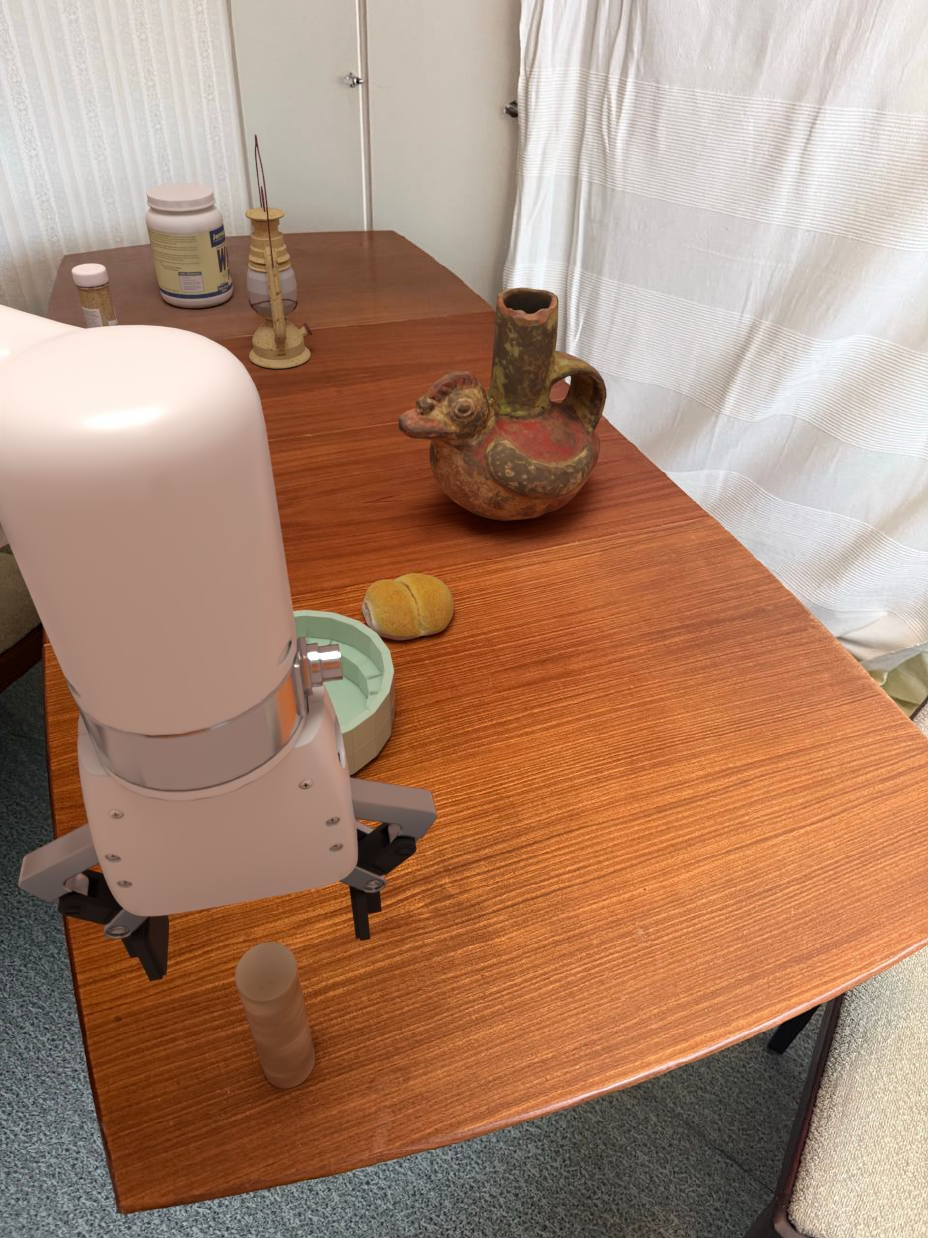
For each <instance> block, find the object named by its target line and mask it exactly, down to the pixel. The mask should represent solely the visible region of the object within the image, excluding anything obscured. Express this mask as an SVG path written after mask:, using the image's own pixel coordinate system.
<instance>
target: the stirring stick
mask: <svg viewBox="0 0 928 1238" xmlns="http://www.w3.org/2000/svg"><path fill="white" fill-rule="evenodd" d="M234 982H235V985H236V988H237V992H238V995H239V998H240V1002H241V1005H242V1008H243V1011H244V1015H245V1017H246V1021H247V1023H248V1027H249V1030H250V1033H251V1037H252V1039H253V1042H254V1043H253V1044H254V1046H255V1049H256V1052H257V1056H258V1059H259V1061H260V1065H261V1068H262V1072H263V1075H264V1076H265V1078H266V1080H267V1081H268V1082H269V1083H270V1084H271V1085H273V1086H274V1087H276V1088H279V1089H292V1088H295V1087H297V1086H299V1085H301V1084H302V1083H304V1082H305V1081H306V1079H308V1077H309V1076H310V1075H311V1073H312V1071H313V1069H314V1067H315V1063H316V1052H315V1047H314V1042H313V1038H312V1032H311V1027H310V1021H309V1017H308V1011H307V1007H306V1003H305V1002H306V1001H305V997H304V992H303V987H302V982H301V978H300V973H299V967H298V962H297V958H296V956H295V954H294V952H293V951H292V950H291V949H290V948H289V947H288V946H286V945H285V944H283V943H279V942H277V941H266V942H261V943H258V944H256V945H254V946H252V947H250V948H249V949H248V950H247V951H246V952H245V953H244V954H243V955H242V956H241V957H240V959H239V960H238V962H237V965H236V967H235V971H234Z"/></svg>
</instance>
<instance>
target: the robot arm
mask: <svg viewBox="0 0 928 1238" xmlns="http://www.w3.org/2000/svg"><path fill="white" fill-rule="evenodd" d="M261 401H262V400H261V396H260V394H259V391H258V388H257V387H256V384H255V382H254V379H253V378H252V377H251V374H250V373H249V371H248V369H247V368H246V367H245V365H244V364H243V362H242V361H241V360H240V359H239V358H238V357H237V356H236V355H234V353H232V352H231V351H230V350H229V349H228V348H226V347H225V346H223V345H221V344H220V343H218V342H216V341H214V340H212V339H210V338H208V337H207V336H205V335H201V334H199V333H196V332H193V331H189V330H185V329H181V328H176V327H171V326H170V327H169V326H163V325H148V324H122V325H121V324H119V325H118V326H106V327H96V328H87V327H86V328H84V327H81V326H76V325H72V324H67V323H63V322H60V321H57V320H54V319H50V318H46V317H43V316H40V315H36V314H33V313H29V312H27V311H23V310H19V309H16V308H13V307H9V306H7V305H4V304H0V549H1V548H3V547H5V546H7V545H8V546H9V547H10V550H11V552H12V555H13V556H14V560H15V562H16V564H17V566H18V569H19V571H20V574H21V576H22V578H23V580H24V584H25V585H26V588H27V591H28V592H29V595H30V598H31V600H32V602H33V605H34V607H35V609H36V612H37V614H38V617H39V620H40V622H41V624H42V626H43V628H44V631H45V633H46V635H47V638H48V640H49V643H50V646H51V648H52V650H53V652H54V656H55V657H56V660H57V662H58V665H59V667H60V669H61V671H62V674H63V676H64V679H65V682H66V683H67V685H68V688H69V691H70V693H71V696H72V697H73V699H74V703H75V705H76V707H77V708H78V712H79V716H78V721H77V748H76V749H77V763H78V770H79V771H78V772H79V779H80V787H81V792H82V798H83V804H84V808H85V809H84V810H85V813H86V818H87V823H85V824H83V825H81V826H80V827H78V828H75V829H74V830H72V831H70V832H68V833H66V834H64V835H62V836H60V837H58V838H56V839H54V840H52V841H51V842H48V843H47V844H44V845H42V846H41V847H39V848H37V849H35V850H33V851H32V852H29V853H26V854H25V855H24V856H23V858H22V863H21V867H20V872H19V876H18V882H17V886H18V888H19V889H20V890H21V891H24V892H26V893H28V894H29V895H32V896H34V897H36V898H38V899H40V900H42V901H43V902H46V903H47V904H50V903H54V904H56V905H57V912H58V913H59V914H60V915H63V916H65V917H68V918H73V919H77V920H81V921H86V922H90V923H93V924H98V925H102V926H103V931H102V933H103V936H104V937H106V938H108V939H110V940H111V939H112V940H121V942H122V944H123V946H124V948H125V950H126V952H127V954H128V956H129V958H130V959H134V958H138V960H139V962H140V964H141V966H142V968H143V970H144V972H145V974H146V976H147V978H148V980H149V982H154V981H159V980H163V978H164V976H165V977H166V976H167V974H168V960H169V940H170V939H169V938H170V917H169V915H170V916H171V915H177V914H182V913H188V912H194V911H195V912H196V911H201V910H207V909H213V908H218V907H224V906H230V905H236V904H241V903H247V902H252V901H258V900H262V899H269V898H274V897H280V896H284V895H290V894H295V893H300V892H305V891H310V890H314V889H315V890H316V889H319V888H323V887H327V886H331V885H333V884H335V883H338V882H339V883H342V884H344V885H346V886H348V889H349V897H350V905H351V911H352V922H353V928H354V935H355V940H357V939H359V941H360V942H364V941H368V940H371V929H370V921H369V915H371V914H377V913H381V912H382V910H383V909H382V898H381V891H383V890H384V889H385V888H386V887H387V884H388V882H387V875H389V874H390V873H391V872H392V871H394V870H395V869H396V868H398V867H399V866H400V865H402V864H403V863H404V862H405V861H407V860H408V859H410V857H412V856H413V855H414V854H416V852H417V850H418V849H417V843H418V842H419V840H421V839H423V838H424V837H425V835H426V834H427V833H428V832H429V830H430V829H431V827H432V826H433V825H434V823H435V822H436V821H437V819H438V813H437V808H436V803H435V798H434V794H433V792H432V790H429V789H425V788H420V787H414V786H406V785H400V784H394V783H388V782H382V781H377V780H376V781H375V780H369V779H364V778H356V777H351V775H350V774H349V768H348V763H347V757H346V752H345V747H344V742H343V737H342V733H341V729H340V725H339V721H338V718H337V715H336V712H335V709H334V706H333V703H332V701H331V698H330V696H329V693H328V691H327V689H326V686H325V684H324V682H329V681H336V680H343V672H342V663H341V656H340V649H339V644H333V645H325V646H318V643H312V644H307V643H306V637H305V636H304V637H299V638H298V637H297V630H296V623H295V618H294V613H293V611H294V607H293V600H292V594H291V593H292V592H291V586H290V581H289V580H290V579H289V574H288V573H289V572H288V566H287V559H286V553H285V547H284V539H283V533H282V526H281V519H280V513H279V504H278V499H277V493H276V485H275V478H274V472H273V466H272V459H271V452H270V446H269V440H268V439H269V438H268V432H267V426H266V421H265V416H264V411H263V406H262V402H261ZM359 820H361V821H368V822H375V823H380V824H379V825H377V827H375V828H373V827H371V826H369V825H367V824H365V823H363V822H361V821H359ZM98 865H100V869H101V870H102V872H100V871H96V870H93V869H92V868H94V867H96V866H98Z"/></svg>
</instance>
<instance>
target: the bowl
mask: <svg viewBox="0 0 928 1238" xmlns="http://www.w3.org/2000/svg"><path fill="white" fill-rule="evenodd" d="M293 613H294V618H295V623H296V630H297V637H298V638H299V637H304V636H305V637H306V643H307V644H312V643H318V646H325V645H333V644H339V649H340V656H341V663H342V672H343V680H336V681H329V682H324V684H325V686H326V689H327V691H328V693H329V696H330V698H331V701H332V703H333V706H334V709H335V712H336V715H337V718H338V721H339V725H340V729H341V733H342V737H343V742H344V747H345V752H346V757H347V763H348V768H349V774H350V776H352V775H354V774H355V773H357V772H358V771H359V770H361V769H362V768H364V767H365V766H366V765H367V764H368V763H370V762H371V761H372V760H374V759H375V758H376V757H377V756H378V755H379V753H380V752H381V751H382V749H383V747H384V746H385V745H386V743H387V741H388V740H389V738H390V737H391V735H392V732H393V728H394V722H395V719H396V687H395V685H396V683H395V682H396V681H395V667H394V663H393V659H392V654H391V650H390V648H389V647H388V646H387V644H386V643H385V642H384V641H383V639H382V637H381V636H379V635H378V634H377V633H376V632H375V631H373V630H372V629H370V628H369V626H368V625H366V624H364V623H363V622H361V621H360V620H357V619H354V618H352V617H349V616H345V615H343V614H340V613H337V612H333V611H323V610H314V609H313V610H312V609H298V610H293Z"/></svg>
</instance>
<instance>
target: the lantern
mask: <svg viewBox="0 0 928 1238" xmlns="http://www.w3.org/2000/svg"><path fill="white" fill-rule="evenodd" d="M259 147H260V146H259V142H258V135H257V133H256V134H254V161H255V171H256V178H257V187H258V188H257V189H258V195H259V196H258V197H259V204H260V207H254V208H251V209H248V210H246V211H245V212H244V215H245V217H246V218H247V219H248V220H250V223H251V226H252V227H253V229H254V231H253V232H251V233H250V235H249V236H250V243H251V244H250V247H249V249H250V250H249V251H250V253H249V255H248V260H249V261H248V264H247V266H248V269H247V272H246V290H247V295H248V303H249V307H250V308H251V309H252V310H253V311H254V312H255V315H257V316H258V317H260V318H263V319H264V321H262V323H260V325H259V326H258V327H257V328H256V330H255V332H254V334H253V335H252V338H251V343H252V349H251V350H250V351H249V353H248V354H249V355H248V357H249V358H248V359H249V360H250V362H252V363H253V364H254V365H257V366H259V367H261V368H262V367H263V368H267V369H288V368H294V367H296V366H297V367H298V366H300V365H303V364H304V363H306V362H307V361H308V360H310V358H311V355H312V354H311V351H310V349H309V348H308V347H307V346H306V345H305V337H306V336H308V335H309V336H312V335H313V331H312V330H311V327H310V326H309V324H308V323H307V322H304V323H303V326H301V327H300V328H298V327H297V326H296V325H295V324H294V323H292V321H290V320H288V317H290V316H292V315H293V314H294V312H295V310H296V309H297V307H298V303H299V301H298V284H297V281H296V279H297V278H296V275H295V270H294V269H293V268H292V266H291V264H292V263H291V261H290V258H291V255H290V254H289V252H288V251H287V245H286V243H285V238H284V237H285V236H284V233H283V232H282V231H279V226H280V220H281V219H282V218H284V216H285V212H284V210H282V209H279V208H276V207H269V205H268V197H267V189H266V179H265V174H264V168H263V167H264V166H263V164H262V163H263V162H262V158H261V154H260V148H259ZM257 155H258V158H257ZM258 159H259V164H260V170H261V175H262V183H263V186H262V185H261V186H260V177H259V170H258V169H259V168H258Z"/></svg>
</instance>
